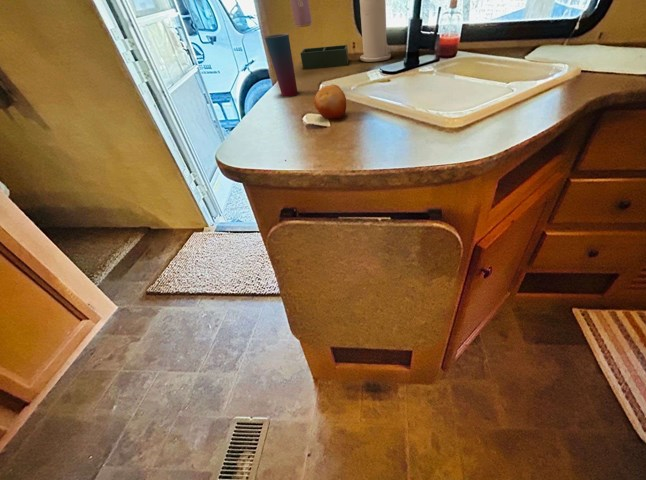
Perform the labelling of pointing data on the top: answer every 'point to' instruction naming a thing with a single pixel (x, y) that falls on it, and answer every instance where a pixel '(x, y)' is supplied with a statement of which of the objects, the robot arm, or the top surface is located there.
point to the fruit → (330, 102)
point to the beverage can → (301, 13)
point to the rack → (324, 57)
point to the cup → (282, 62)
